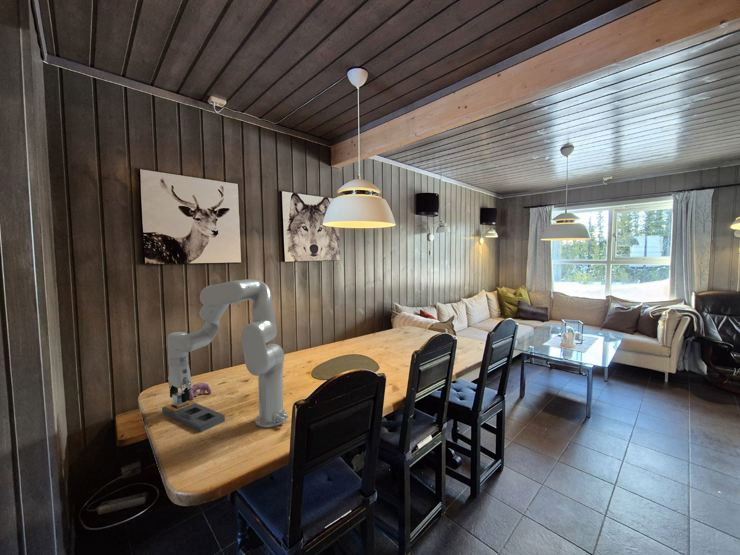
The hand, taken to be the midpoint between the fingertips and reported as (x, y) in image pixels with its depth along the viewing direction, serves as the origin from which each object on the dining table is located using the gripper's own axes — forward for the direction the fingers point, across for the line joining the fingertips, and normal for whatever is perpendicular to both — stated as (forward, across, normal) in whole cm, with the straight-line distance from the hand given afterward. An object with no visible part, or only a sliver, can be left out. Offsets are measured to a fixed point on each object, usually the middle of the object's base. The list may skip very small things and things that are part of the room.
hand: (179, 398), depth 136 cm
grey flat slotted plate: (+6, -10, 0) cm, 11 cm away
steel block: (+6, 0, 0) cm, 6 cm away
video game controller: (+6, +9, -14) cm, 17 cm away
